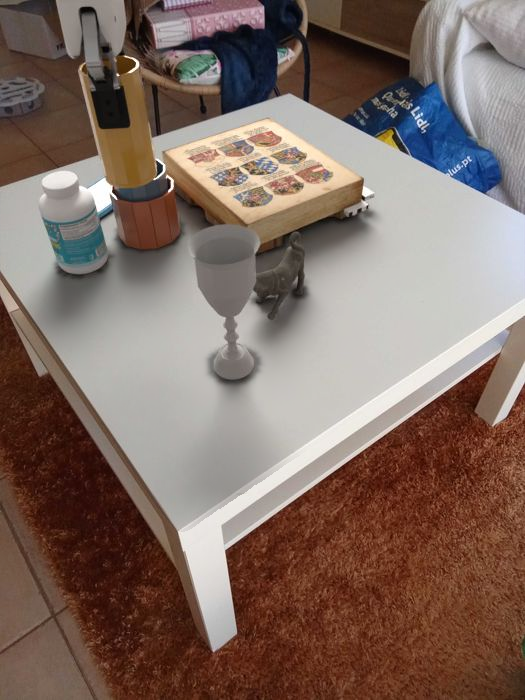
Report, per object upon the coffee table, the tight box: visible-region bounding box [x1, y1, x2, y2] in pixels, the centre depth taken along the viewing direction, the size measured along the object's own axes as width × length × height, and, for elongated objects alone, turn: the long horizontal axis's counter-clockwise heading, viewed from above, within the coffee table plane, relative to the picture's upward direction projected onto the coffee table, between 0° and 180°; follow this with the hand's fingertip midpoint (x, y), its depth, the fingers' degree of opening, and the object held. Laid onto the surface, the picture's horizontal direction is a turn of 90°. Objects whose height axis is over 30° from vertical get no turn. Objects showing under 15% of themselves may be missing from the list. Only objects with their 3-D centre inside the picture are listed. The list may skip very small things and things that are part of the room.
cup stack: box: [109, 158, 181, 251], centre depth 86 cm, size 9×9×11 cm
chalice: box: [187, 224, 260, 381], centre depth 63 cm, size 7×7×18 cm
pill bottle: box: [38, 170, 109, 275], centre depth 79 cm, size 8×7×14 cm
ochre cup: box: [77, 55, 157, 188], centre depth 61 cm, size 6×6×12 cm
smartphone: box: [85, 175, 113, 220], centre depth 96 cm, size 8×1×15 cm
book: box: [161, 117, 375, 255], centre depth 93 cm, size 25×6×28 cm
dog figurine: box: [253, 231, 306, 322], centre depth 75 cm, size 12×6×7 cm, turn 150°
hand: (117, 111), depth 60 cm, fingers closed on ochre cup, 6 cm apart
